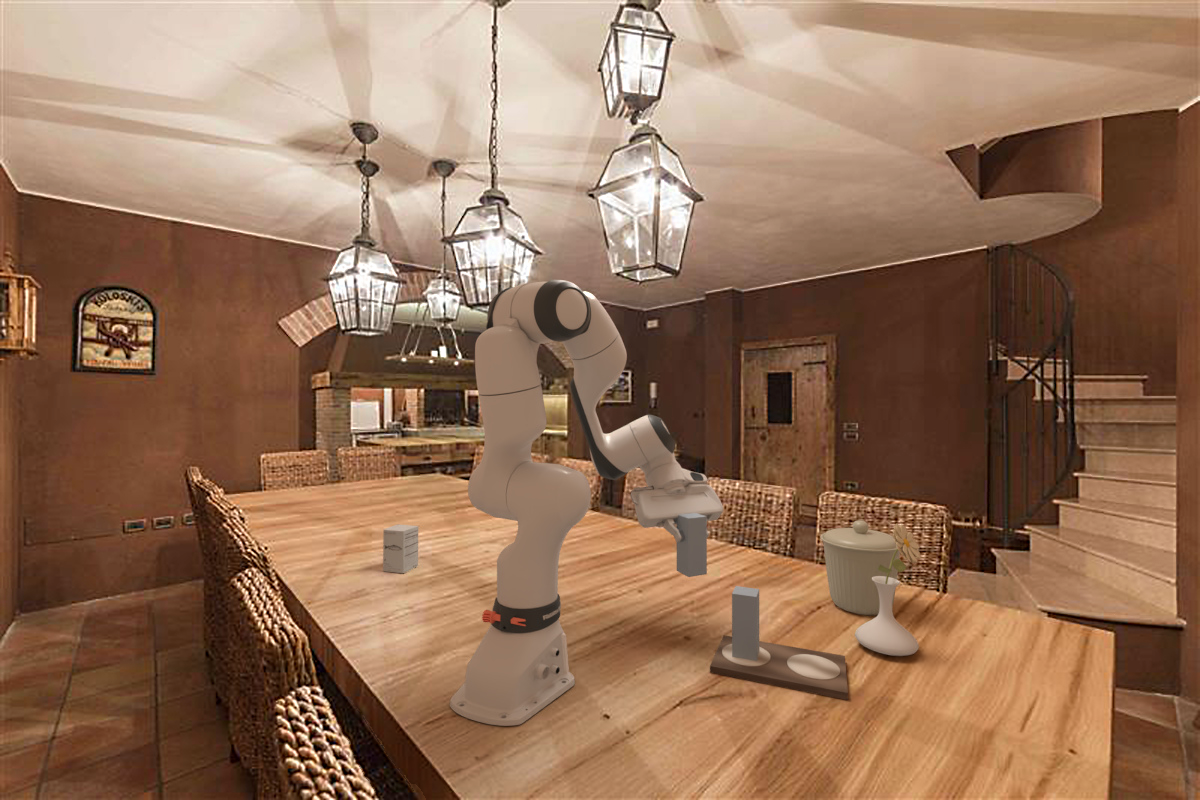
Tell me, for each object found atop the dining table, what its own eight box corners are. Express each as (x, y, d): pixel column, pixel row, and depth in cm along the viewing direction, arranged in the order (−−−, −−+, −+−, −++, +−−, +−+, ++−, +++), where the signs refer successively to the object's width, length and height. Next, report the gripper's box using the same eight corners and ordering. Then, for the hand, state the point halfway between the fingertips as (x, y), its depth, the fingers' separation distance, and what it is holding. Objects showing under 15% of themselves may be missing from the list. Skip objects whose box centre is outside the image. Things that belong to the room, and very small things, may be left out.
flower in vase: (885, 665, 99) (884, 533, 99) (842, 639, 110) (841, 520, 110) (939, 656, 103) (939, 528, 103) (893, 632, 114) (892, 516, 114)
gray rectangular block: (706, 574, 109) (706, 516, 109) (688, 577, 107) (688, 518, 107) (694, 568, 113) (694, 512, 113) (676, 570, 111) (676, 514, 111)
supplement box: (382, 572, 155) (382, 529, 155) (398, 564, 162) (398, 523, 162) (403, 574, 153) (403, 530, 153) (419, 566, 160) (419, 525, 160)
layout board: (847, 700, 88) (847, 691, 88) (710, 672, 97) (710, 664, 97) (844, 662, 100) (844, 654, 100) (723, 640, 110) (723, 634, 110)
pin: (756, 661, 98) (756, 596, 98) (732, 656, 100) (731, 593, 100) (759, 650, 102) (759, 589, 102) (735, 646, 104) (735, 585, 104)
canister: (921, 623, 118) (920, 529, 118) (841, 623, 118) (840, 529, 118) (878, 593, 136) (877, 512, 136) (808, 594, 136) (808, 512, 136)
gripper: (632, 479, 112) (655, 535, 103) (711, 474, 121) (738, 525, 112) (623, 497, 116) (644, 552, 107) (699, 490, 125) (725, 541, 116)
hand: (693, 538), depth 110 cm, fingers closed on gray rectangular block, 4 cm apart
